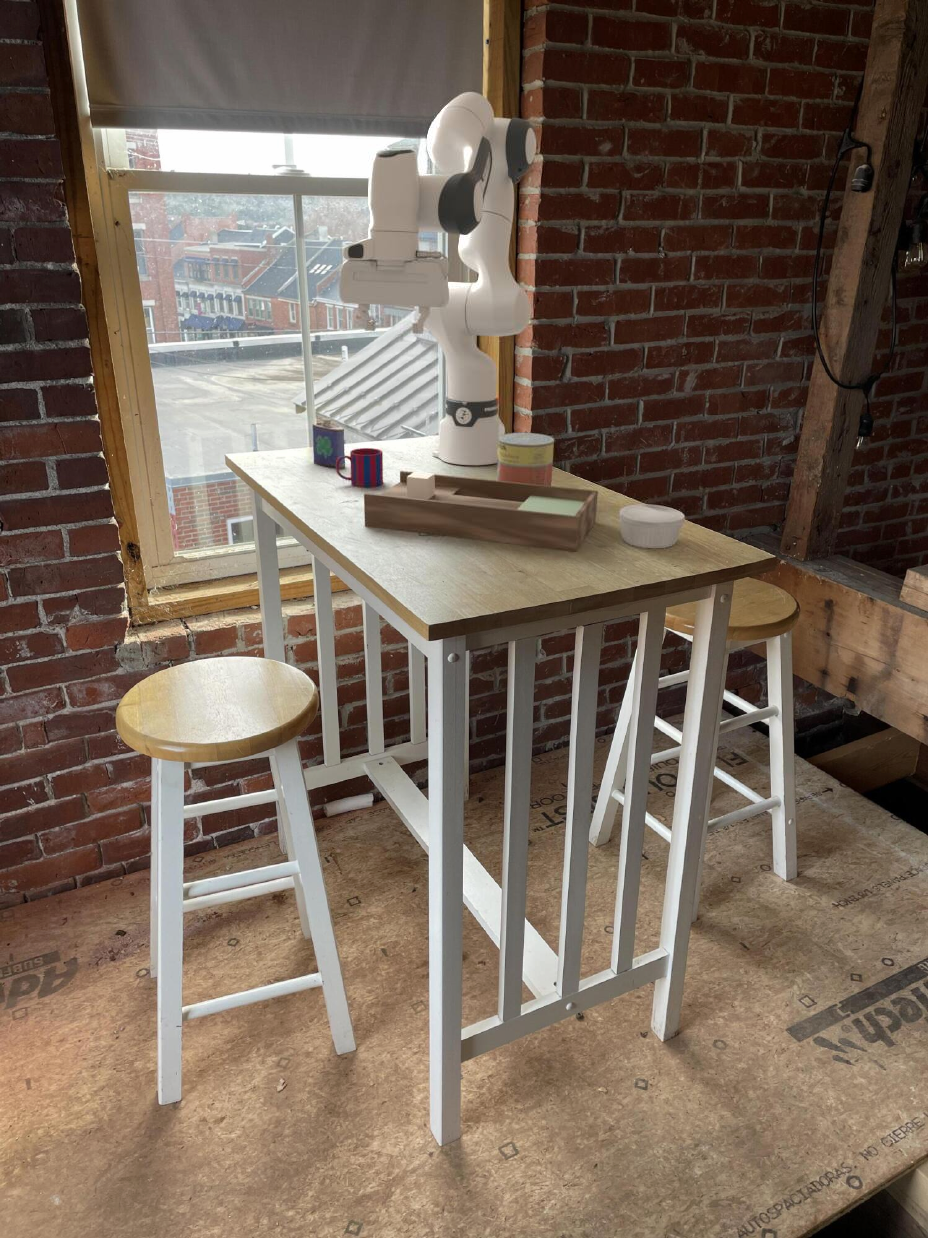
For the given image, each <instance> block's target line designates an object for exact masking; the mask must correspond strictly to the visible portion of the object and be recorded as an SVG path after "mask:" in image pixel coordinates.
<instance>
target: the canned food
mask: <svg viewBox="0 0 928 1238" xmlns="http://www.w3.org/2000/svg"><path fill="white" fill-rule="evenodd" d="M554 444H555V438H554V437H552V436H550V435H547V434H542V433H534V432H511V433H510V432H509V433H505V434H503V435H500V436H499V437H498V454H497V463H496V481H506V482H516V483H526V484H536V485H546V486H552V480H553V479H552V478H553V461H554V447H555V446H554Z"/></svg>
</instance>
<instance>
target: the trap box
mask: <svg viewBox="0 0 928 1238" xmlns="http://www.w3.org/2000/svg"><path fill="white" fill-rule="evenodd" d="M414 472H415V471H407V470H400V471H399V482H397V483H395V484H394V485H393V486H391V487H390V488H388V489H387V490H385V491H384V492H382V493H369V492H365V493H363V502H364V503H363V504H364V505H363V506H364V507H363V508H364V510H363V511H364V513H363V514H364V527H369V528H377V529H378V528H379V529H388V530H394V531H395V530H396V531H401V532H410V533H419V534H428V535H435V536H436V535H437V536H444V537H445V536H446V537H453V538H459V539H460V538H462V539H468V540H478V541H483V542H484V541H485V542H493V543H501V544H509V545H510V544H512V545H519V546H528V547H535V548H536V547H537V548H545V549H550V550H560V551H568V552H574V553H575V552H577V551H578V549H579V547H580V546H581V545H582V543H583V541H584V540H585V538H586V537H587V536H588V534H589V532H590V531H591V529H592V528H593V527H594V525H595V523H596V519H597V510H598V509H597V506H598V495H599V491H598V490H593V489H592V490H591V489H584V488H583V489H582V488H575V487H574V488H573V487H565V486H564V487H562V486H553V485H551V486H546V485H536V484H526V483H516V482H506V481H497V479H494V480H493V479H486V478H485V479H484V478H474V477H468V476H467V477H466V476H465V477H464V476H456V475H443V474H436V473H434V474H435V495H434V496H432V497H431V498H429V499H428V500H426V499H417V498H407V476H409V475H410V474H412V473H414Z"/></svg>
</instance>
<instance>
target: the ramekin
mask: <svg viewBox="0 0 928 1238" xmlns="http://www.w3.org/2000/svg"><path fill="white" fill-rule="evenodd" d="M618 515H619V516H618V517H619V519H620V533H621V538H622V539H623V540H624V542H626V544H628V543H629V544H628V545H630V546H632V545H633V547H636V546H637V547H636V548H640V547H641V549H647V548H664V549H667V548H666V547H668V548H670V547H669V546H671V547H673V546H674V545H675V544H676V543H677V541H678V539H679V535H680V533H681V530H682V527H683V525H684V523H685V520H686V516H685V514H684V513H683V512H682V511H680V510H677V509H674V508H672V507H668V506H664V505H657V504H643V503H642V504H639V503H638V504H632V505H631V504H630V505H626V506H624V507H622V508H621V509H620V510H619V514H618ZM672 545H673V546H672Z"/></svg>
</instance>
